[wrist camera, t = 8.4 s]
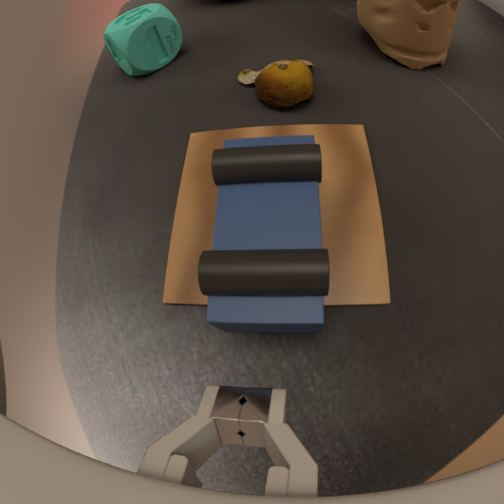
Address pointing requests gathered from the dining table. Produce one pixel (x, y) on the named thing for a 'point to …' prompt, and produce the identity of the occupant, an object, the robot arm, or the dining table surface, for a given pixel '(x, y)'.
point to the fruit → (281, 82)
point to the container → (410, 28)
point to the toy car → (266, 238)
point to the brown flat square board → (331, 207)
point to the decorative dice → (144, 39)
